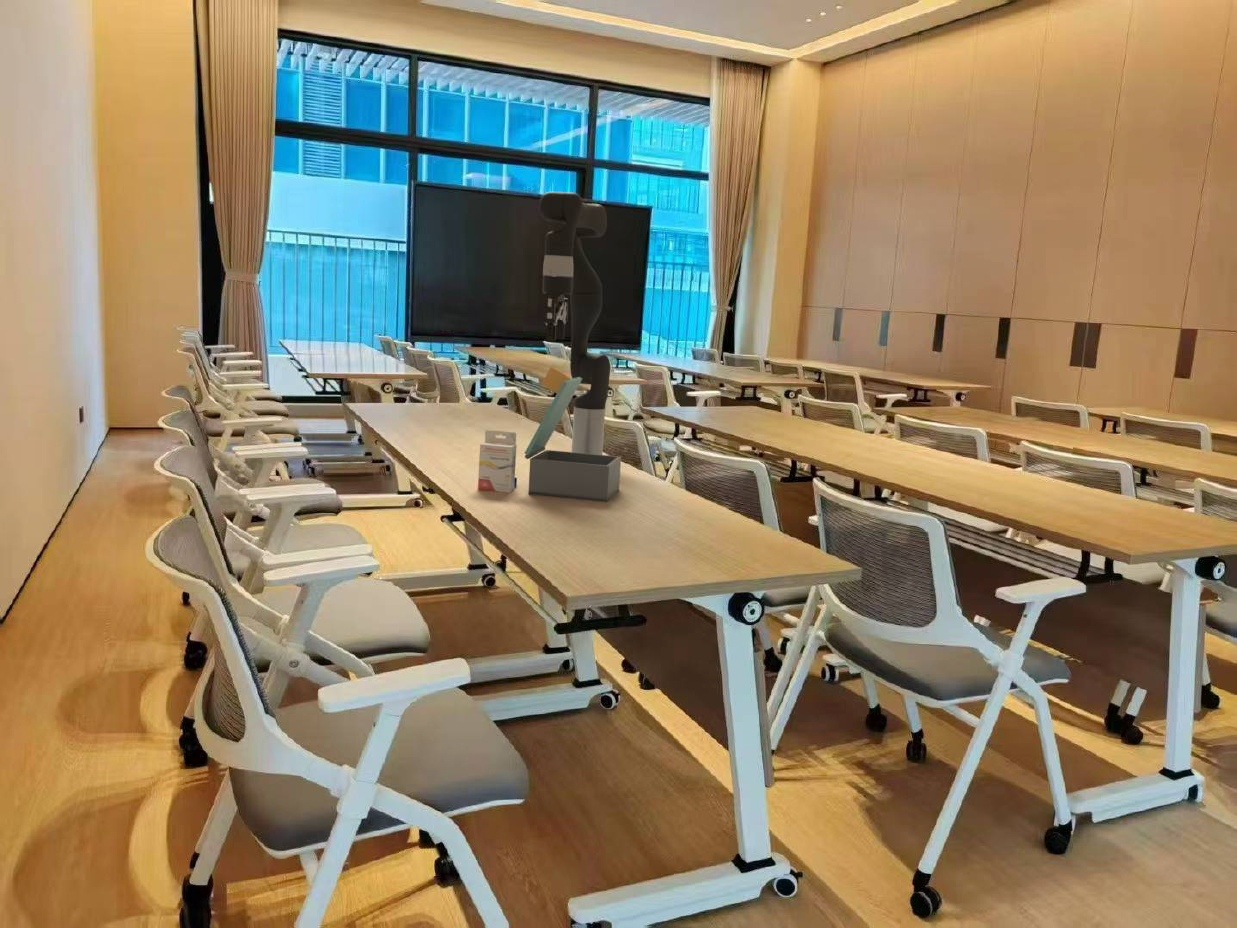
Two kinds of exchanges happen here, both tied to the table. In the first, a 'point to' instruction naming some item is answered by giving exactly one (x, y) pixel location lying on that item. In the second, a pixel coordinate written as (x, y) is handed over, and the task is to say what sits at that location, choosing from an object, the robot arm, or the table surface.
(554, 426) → the lid
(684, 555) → the table surface
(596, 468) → the box
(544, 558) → the table surface
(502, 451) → the ink cartridge box
